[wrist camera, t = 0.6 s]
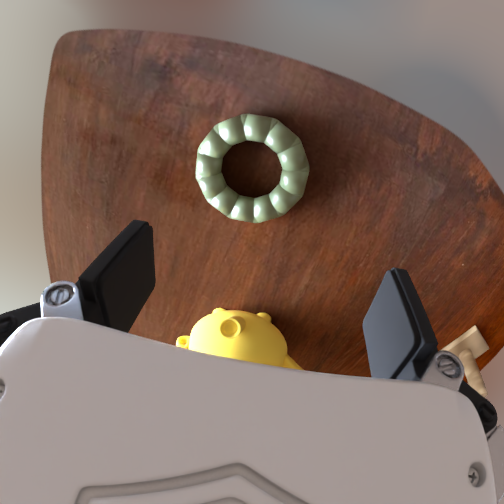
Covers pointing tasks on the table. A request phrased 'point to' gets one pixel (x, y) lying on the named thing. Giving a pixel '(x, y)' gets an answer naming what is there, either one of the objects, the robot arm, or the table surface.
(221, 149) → the ring
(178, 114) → the table surface
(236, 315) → the teapot
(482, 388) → the square base peg stand
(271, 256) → the table surface
